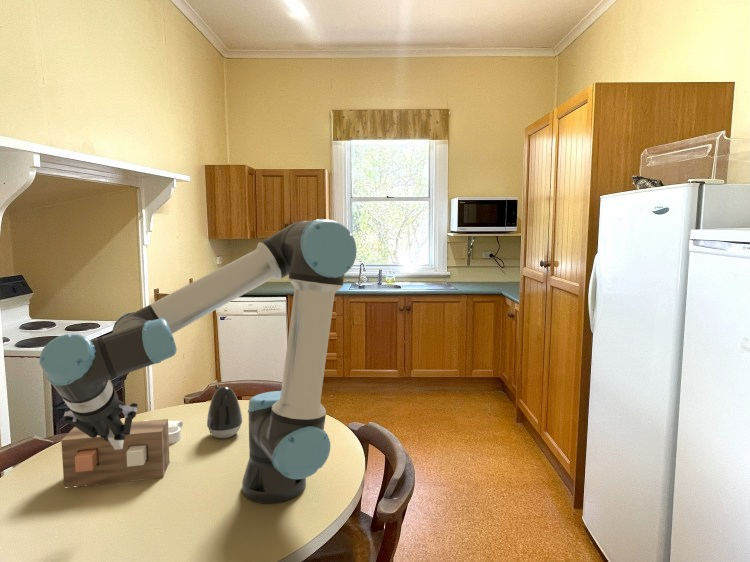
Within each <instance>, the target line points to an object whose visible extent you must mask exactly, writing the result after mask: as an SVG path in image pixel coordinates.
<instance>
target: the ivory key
mask: <svg viewBox="0 0 750 562" xmlns="http://www.w3.org/2000/svg"><path fill="white" fill-rule="evenodd" d="M147 457H148V444H138V445H131V446H130V448H129V449H128V451H127V467H130V466H139V465H144V463H145V461H146V459H147Z"/></svg>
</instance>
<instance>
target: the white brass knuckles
mask: <svg viewBox="0 0 750 562" xmlns="http://www.w3.org/2000/svg"><path fill="white" fill-rule="evenodd" d="M144 421H149V420H148V419H145V420H144ZM183 425H184V423H183V421H182V420H168V433H169V445H173V444H175V443H177V441H178V442H179V441H180V440H181V439H182V427H183Z"/></svg>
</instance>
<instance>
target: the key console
mask: <svg viewBox="0 0 750 562" xmlns="http://www.w3.org/2000/svg"><path fill="white" fill-rule="evenodd" d="M168 421H169V419H168V418H165V419H151V420H148V421H145V420H139V421H132V424H131V430H130V434H128V435H126V436H125V440H124V443H123V448H122V449H118V450H115V449H114V448H113V446H112V445H111V443H110V441H105V440H104V438H101V437H100V435H97V437H94V438H92V437H90V436H88V435H87V434H85V433H84V432H82V431H81V430H79V429H78V428H76V427H75V426H73V427H72V429H70V431H69V432H68V433H67V434H66V435H65V436H64V437H63V438H62V439H61V457H62V459H61V460H62V473H63V476H62V477H63V488H64V489H66V488H65V487H72V488H75V487H74V486H81V487H86V486H85V485H90V486H97V485H96V484H99V485H106V484H116V483H125V482H126V483H127V482H132V481H133V482H134V481H143V480H151V479H160V478H161V479H162V478H164V477H165V474H166V472H167V469H168V467H169V464H170V461H171V460H170V444H169V433H168ZM122 423H123V424H125V422H122ZM109 429H110V428H109ZM138 444H148V457H147V459H146V461H145V463H144V465H139V466H130V467H127V451H128V449H129V448H130V446H131V445H138ZM96 448H98V455H99V462H98V464H97V465H96V466H95V468H94V469H93V470H91V471H82V472H75V457H76V455H77V454H78V453H79V452H80V451H81V450H85V449H96Z"/></svg>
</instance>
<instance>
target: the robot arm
mask: <svg viewBox="0 0 750 562" xmlns="http://www.w3.org/2000/svg"><path fill="white" fill-rule="evenodd" d="M256 246H257V247H256V248H255V249H254V250H253V251H250V252H249V253H247V254H245V255H243V256H241V257H239V258H237V259H235V260H233V261H231V262H229V263H227V264H225V265H223V266H221V267H220V268H218V269H215V270H214V271H211V272H210V273H208V274H206V275H204V276H202V277H200V278H198V279H196V280H194V281H192V282H190V283H188V284H186V285H185V286H183V287H180V288H179V289H177V290H176V291H173V292H172V293H169V294H167V295H166V296H164V297H162V298H159V299H158V300H156V301H154V302H151V303H150V304H149V305H147V306H145V307H142V308H140V309H139V310H136V311H132V312H131V311H130V312H128V313H124V314H123V315H121V316H120V317H118V319H117V320H116V321H115V323H114V324H113V327H112V332H111V333H109V334H106V335H103V336H100V337H95V338H92V339H89V338H88V337H87V336H84V335H81V334H78V333H77V334H74V333H73V334H71V333H68V334H67V333H66V334H63V335H62V334H61V335H59V336H57V337H55V338H53V339H51V340H50V341H49V342H48V343H47V344H46V345H45V346H44V347H43V348H42V350H41V353H40V355H39V365H40V367H41V369H42V371H43V372H44V375H45V377H46V380H47V382H49V383H50V384H51V385H52V387H53V388H54V389H55V390H56V391H57V393H58V394H59V395H60V397H61V398H62V400H63V402H64V403H65V404H66V405H67V408H65V411H64V415H63V418H62V422H64V423H66V424H69V425H72V426H73V427H76V428H78V429H79V430H81V431H82V432H84V433H85V434H87V435H88V436H90V437H92V438H94V437H97V435H100V437H101V438H104V440H105V441H110V443H111V445H112V446H113V448H114V449H115V450H118V449H122V448H123V443H124V440H125V436H126V435H128V434H130V430H131V424H132V422H133V419H134V418H135V417H136V416H137V411H138V403H137V402H136V403H135V402H133V403H131V404H130V405H129V404H128V405H125V404H124V402H123V401H121V400H120V399H119V395H118V393H117V391H116V389H115V388H114V385H113V383H112V381H111V380H113V379H115V378H119V377H121V376H123V375H126V374H129V373H132V372H134V371H138V370H141V369H144V368H148V367H149V366H153V365H156V364H159V363H161V362H164V361H165V360H168V359H170V358H172V357H174V356H175V355H176V354H177V350H178V348H177V345H176V342H175V339H174V336H173V335H174V334H175V333H176V332H178V331H180V330H182V329H184V328H185V327H187V326H189V325H191V324H193V323H195V322H196V321H199V320H200V319H201V318H204V317H205V316H207V315H208V314H211V313H212V312H214V311H217V310H218V309H219V308H222V307H223V306H225V305H227V304H229V303H230V302H232V301H234V300H236V299H238V298H240V297H242V296H243V295H246V294H248V292H250V291H252V290H254V289H256V288H258V287H260V286H261V285H263V284H265V283H267V282H269V281H271V280H272V279H274V280H278V281H279V280H281V279H283V278H285V277H286V276H287V277H288V281H289V282H290V284H291V285H292V286H293V288H294V290H293V291H294V292H293V297H292V298H293V300H292V307H291V313H290V323H289V329H288V335H287V336H288V337H287V346H286V353H285V360H284V368H283V375H282V383H281V389H280V390H275V391H274V390H273V391H267V392H263V393H259V394H256V395H254V396H252V397H251V398H250V399H249V402H248V410H247V413H248V443H249V444H248V445H249V448H248V449H249V456H248V457H249V459H248V461H247V464H246V468H245V471H244V474H243V478H242V486H241V487H242V489H241V490H242V495H243V496H244V497H245V498H246V499H248V500H249V501H251V502H255V503H259V504H278V503H283V502H286V501H290V500H292V499H294V498H296V497H297V496H298V495H301V493H302V492H303V491H304V490H305V487H306V485H307V478H308V477H311V476H313V475H315V474H316V473H317V471H319V469H321V468H323V466H324V465H325V463H326V462H327V460H328V458H329V456H330V452H331V440H330V438H329V435H328V433H327V432H326V431H325V424H326V414H327V410H326V408H325V407H324V405H323V404H322V403H321V400H322V399H321V398H322V391H323V385H324V377H325V376H324V375H325V369H326V362H327V353H328V347H329V340H330V339H329V337H330V331H331V325H332V317H333V308H334V301H335V294H336V293H337V292H338V291H339V290H340V289H342V288H343V286H344V280H345V275H346V274H347V273H348V271H349V270H351V268H352V267H353V265H354V264H355V262H356V258H357V244H356V240H355V237H354V236H353V234H352V233H351V231H350V230H349V228H347V227H346V226H345V225H344V224H342V223H341V222H339V221H335V220H332V219H323V218H318V219H314V220H300V221H296V222H293V223H292V224H289V225H288V226H286V227H285V228H283V229H281V230H279V231H278V232H276V233H274V234H273V235H271V236H268V237H267V238H266V239H264V240H262V241H260V242H258V244H257V245H256ZM122 413H123V414H122ZM120 414H122V415H124V422H123V421H122V419H121V418H120V416H119V415H120ZM123 423H125V424H123ZM109 428H110V429H109Z"/></svg>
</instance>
